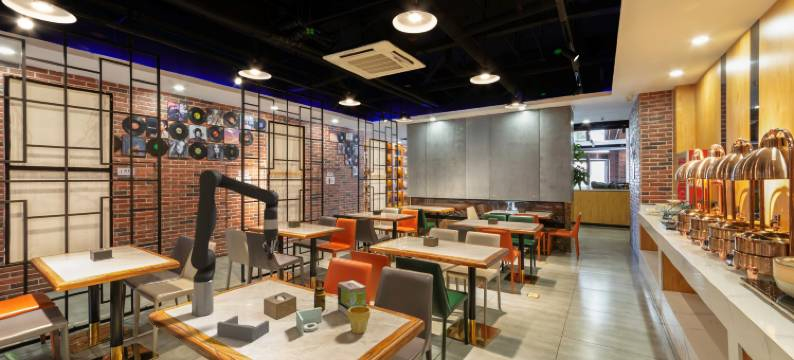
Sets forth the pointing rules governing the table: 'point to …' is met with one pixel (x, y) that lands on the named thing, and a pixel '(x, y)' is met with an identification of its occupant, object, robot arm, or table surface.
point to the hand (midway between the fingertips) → (270, 259)
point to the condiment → (319, 298)
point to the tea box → (350, 295)
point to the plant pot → (358, 318)
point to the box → (241, 330)
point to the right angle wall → (308, 319)
